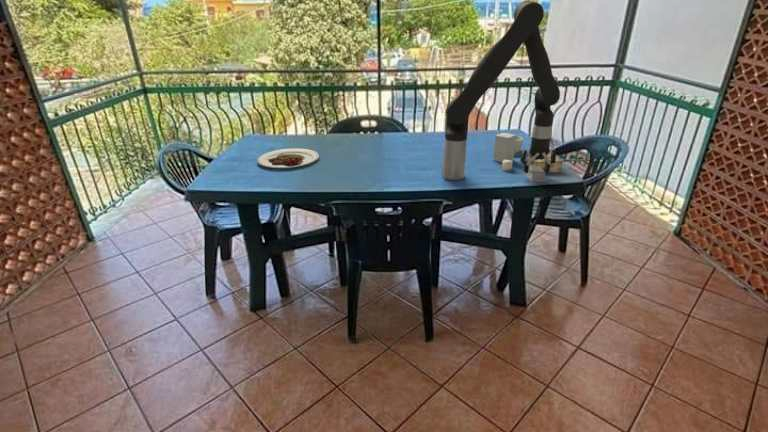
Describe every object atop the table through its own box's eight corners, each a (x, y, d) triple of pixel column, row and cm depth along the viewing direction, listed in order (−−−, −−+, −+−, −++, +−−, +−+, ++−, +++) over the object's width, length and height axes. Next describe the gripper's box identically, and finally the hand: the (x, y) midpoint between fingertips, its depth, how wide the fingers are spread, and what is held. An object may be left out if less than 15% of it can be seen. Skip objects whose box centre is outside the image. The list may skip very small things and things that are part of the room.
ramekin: (518, 147, 219) (520, 134, 216) (524, 155, 207) (525, 141, 204) (493, 147, 220) (495, 134, 217) (497, 154, 209) (498, 141, 206)
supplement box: (513, 160, 200) (517, 134, 195) (505, 163, 196) (508, 137, 190) (500, 156, 205) (503, 132, 199) (492, 160, 200) (495, 135, 195)
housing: (543, 182, 174) (545, 172, 172) (531, 182, 175) (532, 172, 173) (537, 174, 183) (538, 164, 181) (525, 173, 184) (526, 164, 182)
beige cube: (503, 171, 187) (504, 162, 185) (500, 168, 191) (501, 159, 189) (512, 171, 187) (514, 162, 185) (510, 167, 191) (511, 159, 189)
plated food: (287, 149, 224) (286, 143, 222) (331, 157, 210) (330, 150, 209) (244, 164, 201) (243, 158, 199) (290, 175, 187) (289, 168, 186)
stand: (534, 172, 184) (535, 161, 182) (526, 165, 193) (528, 155, 191) (560, 172, 184) (562, 161, 182) (552, 164, 193) (553, 154, 191)
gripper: (527, 138, 167) (522, 176, 174) (562, 137, 167) (555, 175, 174) (521, 133, 174) (517, 170, 181) (555, 132, 174) (549, 169, 181)
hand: (536, 172), depth 178 cm, fingers open, 8 cm apart
